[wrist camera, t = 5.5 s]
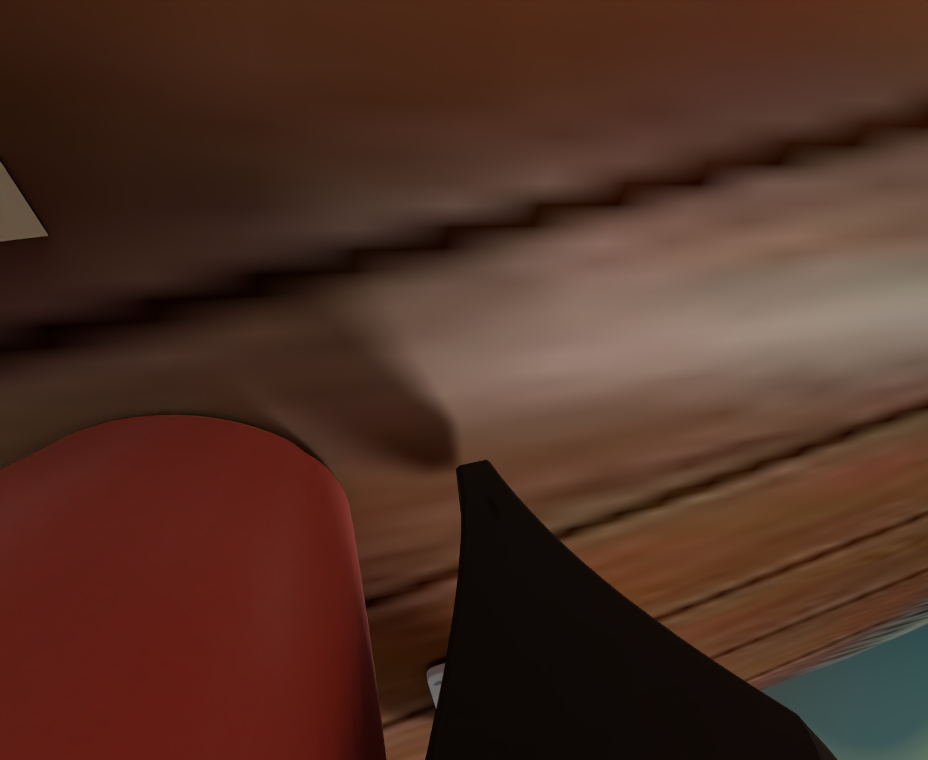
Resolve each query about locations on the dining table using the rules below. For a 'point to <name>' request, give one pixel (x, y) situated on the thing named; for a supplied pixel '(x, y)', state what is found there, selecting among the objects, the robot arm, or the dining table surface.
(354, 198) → the dining table surface
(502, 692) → the robot arm
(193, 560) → the flower pot
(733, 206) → the dining table surface
